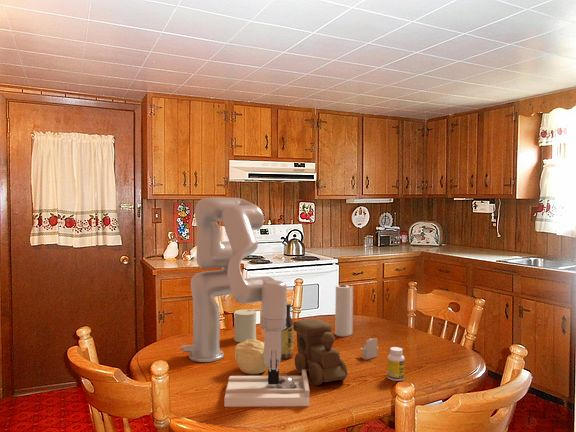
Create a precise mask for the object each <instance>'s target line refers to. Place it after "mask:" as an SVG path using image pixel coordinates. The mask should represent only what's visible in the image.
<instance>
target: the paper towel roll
mask: <svg viewBox="0 0 576 432" xmlns="http://www.w3.org/2000/svg"><path fill="white" fill-rule="evenodd" d="M334 310H335V314H334V315H335V316H334V317H335V322H334V324H335V325H334V333H335V336H337V337H348V336H350V335H352V334H354V333H353V332H354V285H351V286H349V285H347V284H337V285H336V286H335V309H334Z"/></svg>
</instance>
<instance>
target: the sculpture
mask: <svg viewBox="0 0 576 432" xmlns="http://www.w3.org/2000/svg"><path fill="white" fill-rule="evenodd" d="M234 360H235V362H236V363H237V365H238V368H239V369H240V370H241V372H243V373H244V374H248V375H259V374H261V373H264V372H265V371H267V370H268V369H269V363H266V364H265V363H264V341H261V340H258V339H256V340H248V339H247V340H246V341H244V342H242V343H240V342H238V343H237V344H236V345H235V349H234Z"/></svg>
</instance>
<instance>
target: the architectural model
mask: <svg viewBox="0 0 576 432" xmlns="http://www.w3.org/2000/svg"><path fill="white" fill-rule="evenodd" d="M359 349H360V350H362V352H361V353H362V356H361V357H362V359H363V360H366V361H367V360H369V359H375V358H377V357H378V349H380V347H379V346H378V338H371V337H369V338H368V339H367V340H366V341H365V343H364V345H362V347H360V348H359Z"/></svg>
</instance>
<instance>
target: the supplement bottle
mask: <svg viewBox="0 0 576 432" xmlns="http://www.w3.org/2000/svg"><path fill="white" fill-rule="evenodd" d="M403 350H404V349H403V348H402V347H397V346H392V347H390V348H389V354H388V355H387V371H386V374H387V375H386V377H387V379H389V381H390V380H391V381H396V382H401V381H403V380H404V379H405V360H406V358H405V356H404V355H403V353H404V352H403Z"/></svg>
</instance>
